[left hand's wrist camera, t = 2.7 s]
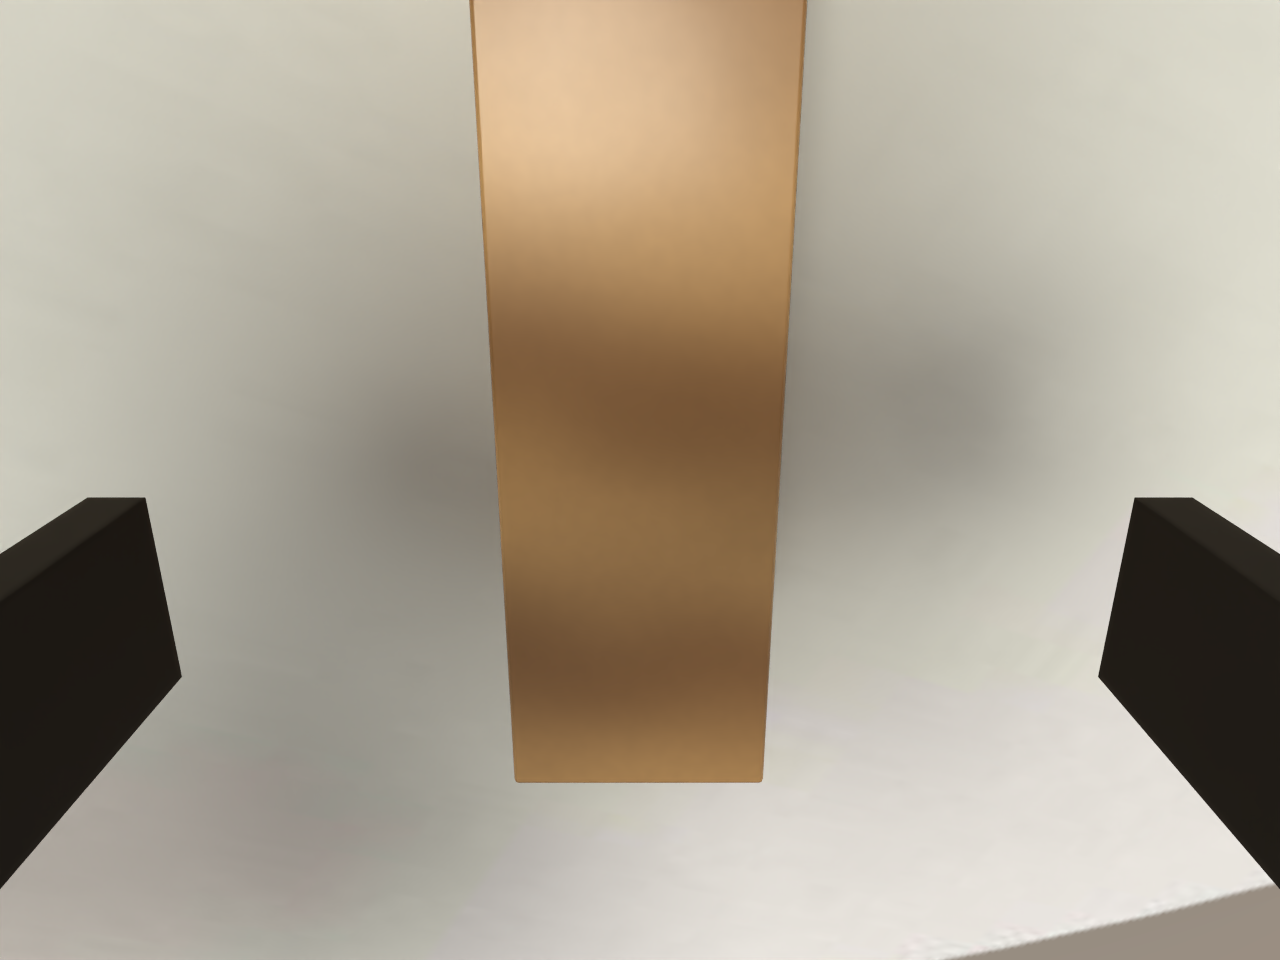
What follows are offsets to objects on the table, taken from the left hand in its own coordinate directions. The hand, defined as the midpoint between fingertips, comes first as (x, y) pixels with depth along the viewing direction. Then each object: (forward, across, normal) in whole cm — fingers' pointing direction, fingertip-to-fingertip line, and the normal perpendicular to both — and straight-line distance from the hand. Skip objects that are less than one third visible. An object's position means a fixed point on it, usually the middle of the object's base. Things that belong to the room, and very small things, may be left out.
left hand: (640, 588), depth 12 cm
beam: (+13, 0, -21) cm, 25 cm away
